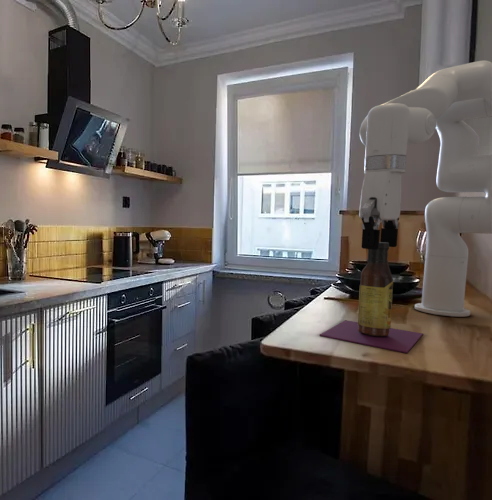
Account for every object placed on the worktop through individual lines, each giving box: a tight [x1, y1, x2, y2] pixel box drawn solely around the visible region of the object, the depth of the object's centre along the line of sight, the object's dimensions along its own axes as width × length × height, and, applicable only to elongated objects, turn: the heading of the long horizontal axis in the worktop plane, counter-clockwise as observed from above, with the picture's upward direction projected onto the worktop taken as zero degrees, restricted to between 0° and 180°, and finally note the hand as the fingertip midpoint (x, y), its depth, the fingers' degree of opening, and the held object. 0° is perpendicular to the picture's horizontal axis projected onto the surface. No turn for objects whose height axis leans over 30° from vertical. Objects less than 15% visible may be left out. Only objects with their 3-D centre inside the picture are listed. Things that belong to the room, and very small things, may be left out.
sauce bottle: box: [357, 241, 394, 337], centre depth 91 cm, size 7×6×20 cm
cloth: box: [319, 319, 424, 354], centre depth 91 cm, size 18×16×1 cm
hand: (379, 247), depth 90 cm, fingers open, 9 cm apart
